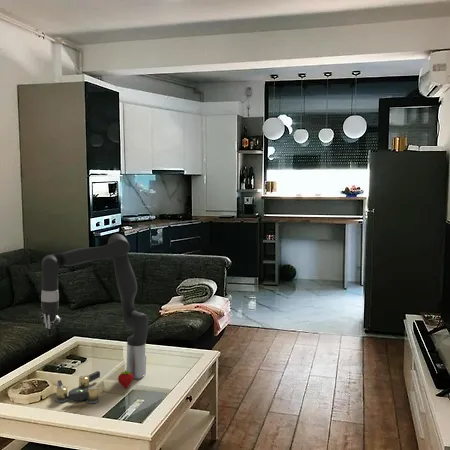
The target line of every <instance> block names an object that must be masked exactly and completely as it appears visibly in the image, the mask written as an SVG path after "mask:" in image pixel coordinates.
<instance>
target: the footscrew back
mask: <svg viewBox="0 0 450 450" xmlns="http://www.w3.org/2000/svg"><path fill="white" fill-rule="evenodd" d="M100 377H101V372H100V371H98V370H96V371H94V372H92V373H91V374H85V375H80V376H79V377H78V386H79V388H81V387H83V388H88V387H89V386H90V383H91V382H93V381H95V380H97V379H99V378H100Z"/></svg>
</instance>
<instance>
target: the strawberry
mask: <svg viewBox="0 0 450 450" xmlns="http://www.w3.org/2000/svg"><path fill="white" fill-rule="evenodd" d="M126 370H127V369H125V370H124V371H122V372H120V374H119V375H118V377H117V380H118V383H119V384H120V386H122V387H123V389H128V388H129V386H130V385H131V383H132V382H133V380H134V379H133V378H134V377H133V374H132V373H130V372H129V371H126Z"/></svg>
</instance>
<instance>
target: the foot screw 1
mask: <svg viewBox="0 0 450 450" xmlns="http://www.w3.org/2000/svg"><path fill="white" fill-rule="evenodd" d="M67 396H68V387H67V386H66V385H63V382H62V380H61V379H60V380H57V387H56V397H57V400H65V399H67Z"/></svg>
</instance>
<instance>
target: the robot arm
mask: <svg viewBox="0 0 450 450" xmlns="http://www.w3.org/2000/svg"><path fill="white" fill-rule="evenodd" d="M130 247H131V246H130V243H129V241H128V240H127V238H126V237H125V236H124V235H122V234H120V233H114V234H111V236H110V237H109V238H108V241H107V244H104V245H101V246H95V247H94V246H93V247H80V248H75V249H72V250H68V251H64V252H57V253H52V254H48V255H46V256H44V257H43V258H42V261H41V271H42V280H41V295H40V296H41V300H40V301H41V303H40V304H41V305H40V306H41V308H40V309H41V310H42V311H41V313H39V314H38V315H37V316H38V318H39V320H40V322H41V325H42V326H43V327H45V328H46V329H45V331H46V336H47V337H52V336H53V335H54V328H57V327H58V326H59V324H60V323H61V322H62V317H60V316H59V313H58V310H59V308H60V307H59V306H60V302H59V301H60V300H59V299H60V294H59V268H62V267H73V266H77V265H81V264H85V263H88V262H94V261H98V260H106V259H112V260H113V265H114V275H115V279H116V285H117V291H118V293H119V296H120V297H119V298H120V303H121V308H122V315H123V323H124V325H125V327H126V328H127V329H130V330H133V334H132V335H130V336H128V337H127V340H126V369H125V370H126V371H129V372H130V373H132V374H133V377H134V378H133V380H139V379H143V378H144V377H145V375H146V373H147V372H146V371H147V356H146V347H147V345H146V344H147V343H146V342H147V338H148V331H149V318H148V315H147V314H145V313H144V312H139V311H137V309H136V306H135V298H136V296H137V294H138V293H137V292H138V282H137V279H136V275H135V272H134V270H133V267H132V264H131V262H130V259H129V252H130V250H131V249H130ZM143 375H144V376H143Z"/></svg>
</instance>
